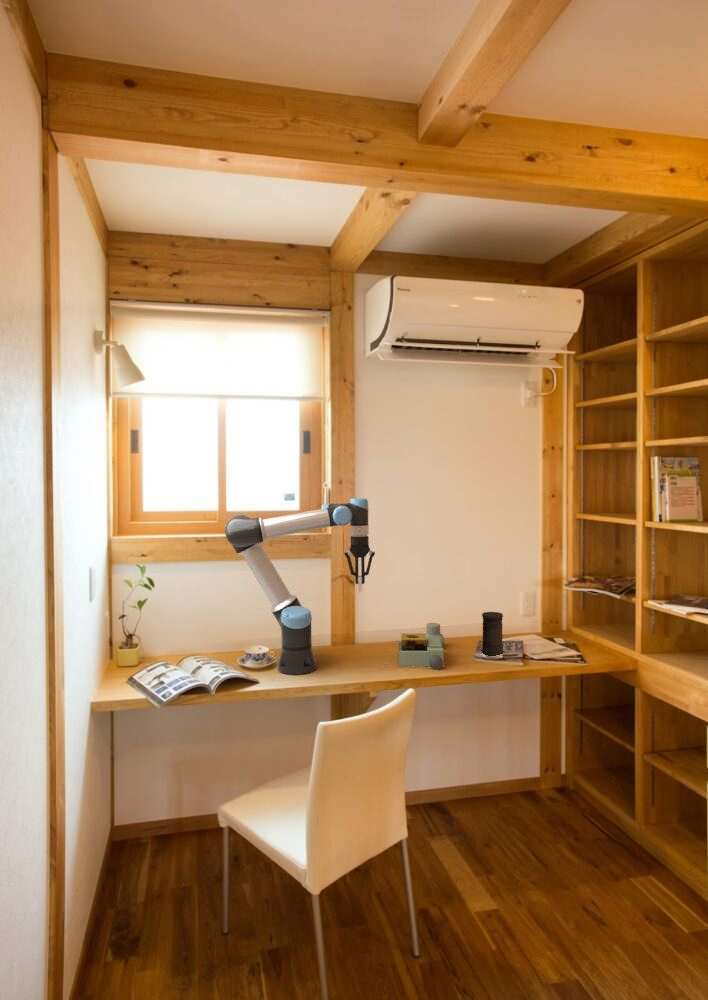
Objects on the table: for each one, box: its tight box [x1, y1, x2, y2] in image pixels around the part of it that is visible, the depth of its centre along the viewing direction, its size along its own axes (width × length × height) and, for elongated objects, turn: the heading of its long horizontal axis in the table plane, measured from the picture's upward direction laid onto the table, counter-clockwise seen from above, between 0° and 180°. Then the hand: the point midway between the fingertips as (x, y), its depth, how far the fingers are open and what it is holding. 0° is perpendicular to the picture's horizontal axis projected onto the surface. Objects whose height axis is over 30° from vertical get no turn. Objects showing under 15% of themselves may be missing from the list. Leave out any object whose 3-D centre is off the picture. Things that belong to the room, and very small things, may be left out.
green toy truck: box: [398, 638, 444, 670], centre depth 261 cm, size 17×22×8 cm
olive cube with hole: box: [401, 632, 426, 651], centre depth 262 cm, size 10×10×10 cm
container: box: [481, 611, 505, 656], centre depth 265 cm, size 9×9×18 cm
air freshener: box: [424, 622, 446, 647], centre depth 281 cm, size 11×8×10 cm
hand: (360, 591), depth 270 cm, fingers closed
